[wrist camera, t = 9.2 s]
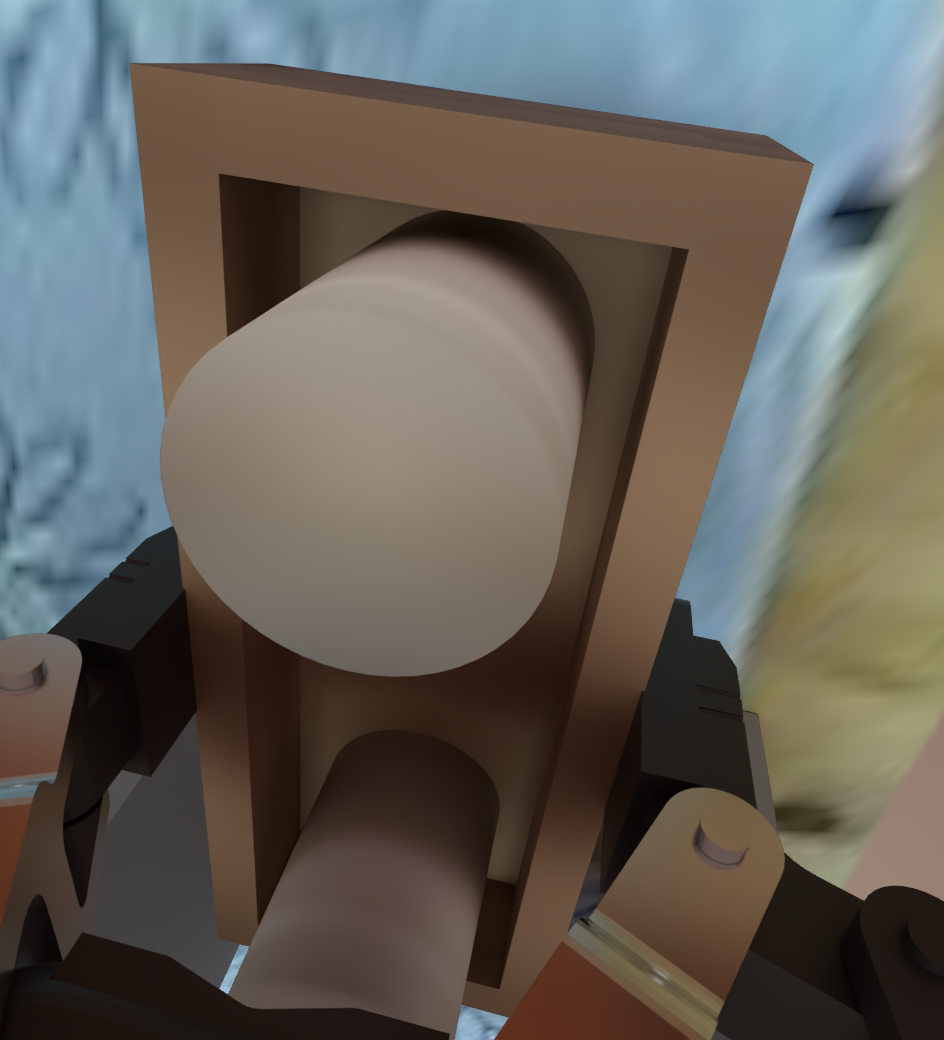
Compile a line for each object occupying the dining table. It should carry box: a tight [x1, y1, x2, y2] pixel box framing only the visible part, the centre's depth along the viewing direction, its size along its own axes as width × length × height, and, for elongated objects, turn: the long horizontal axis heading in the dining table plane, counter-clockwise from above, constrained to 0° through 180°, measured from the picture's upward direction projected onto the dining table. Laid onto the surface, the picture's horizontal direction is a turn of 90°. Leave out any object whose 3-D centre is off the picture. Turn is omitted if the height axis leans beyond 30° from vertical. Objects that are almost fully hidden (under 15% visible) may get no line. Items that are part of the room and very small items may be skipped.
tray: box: [130, 63, 814, 1040], centre depth 11 cm, size 14×6×5 cm, turn 172°
